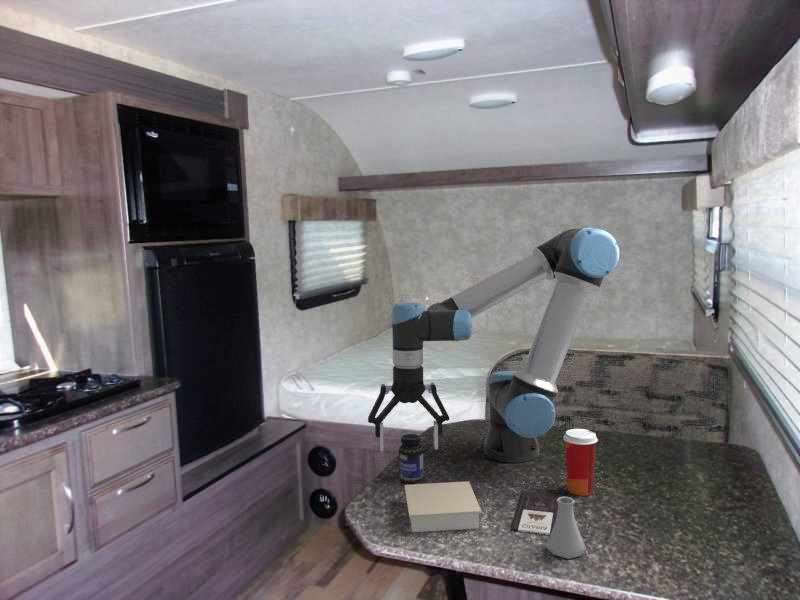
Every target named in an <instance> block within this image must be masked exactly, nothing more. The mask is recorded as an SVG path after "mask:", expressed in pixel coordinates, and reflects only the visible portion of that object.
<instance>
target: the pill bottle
mask: <svg viewBox="0 0 800 600" xmlns="http://www.w3.org/2000/svg"><path fill="white" fill-rule="evenodd" d="M400 438H401V439H400V442H401V445H400V446H399V447H398V472H399V473H398V476H399V480H400V481H401V482H403V483H406V484H418V483H420V482H422V481H423V480H424V448H423V446H422V445H421V444H420V442H421V439H420V438H421V437H420V435H418V434H416V433H408V434H402V435H401V437H400Z"/></svg>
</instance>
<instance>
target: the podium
mask: <svg viewBox="0 0 800 600" xmlns="http://www.w3.org/2000/svg"><path fill="white" fill-rule="evenodd" d="M404 490H405V491H404V492H405V499H406V505H407V511H408V517H409V521H410V528H411V533H425V532H427V533H428V532H439V531H440V532H441V531H458V530H473V529H474V530H477V529H480V514H482V509H481V507H480V504H479V502H478V500H477V497H476V495H475V493H474V490H473V488H472V485H471V483H470V481H453V482H452V481H451V482H436V483H434V482H433V483H411V484H404Z"/></svg>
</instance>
